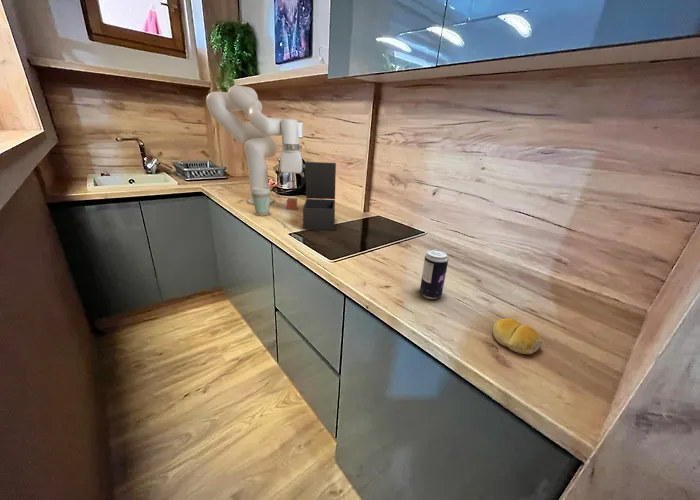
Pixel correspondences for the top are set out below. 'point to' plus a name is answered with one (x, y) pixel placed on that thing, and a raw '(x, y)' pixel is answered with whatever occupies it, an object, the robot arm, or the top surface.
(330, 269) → the top surface
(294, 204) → the block
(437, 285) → the beverage can
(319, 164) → the lid
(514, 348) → the bread roll
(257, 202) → the coffee cup
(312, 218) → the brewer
